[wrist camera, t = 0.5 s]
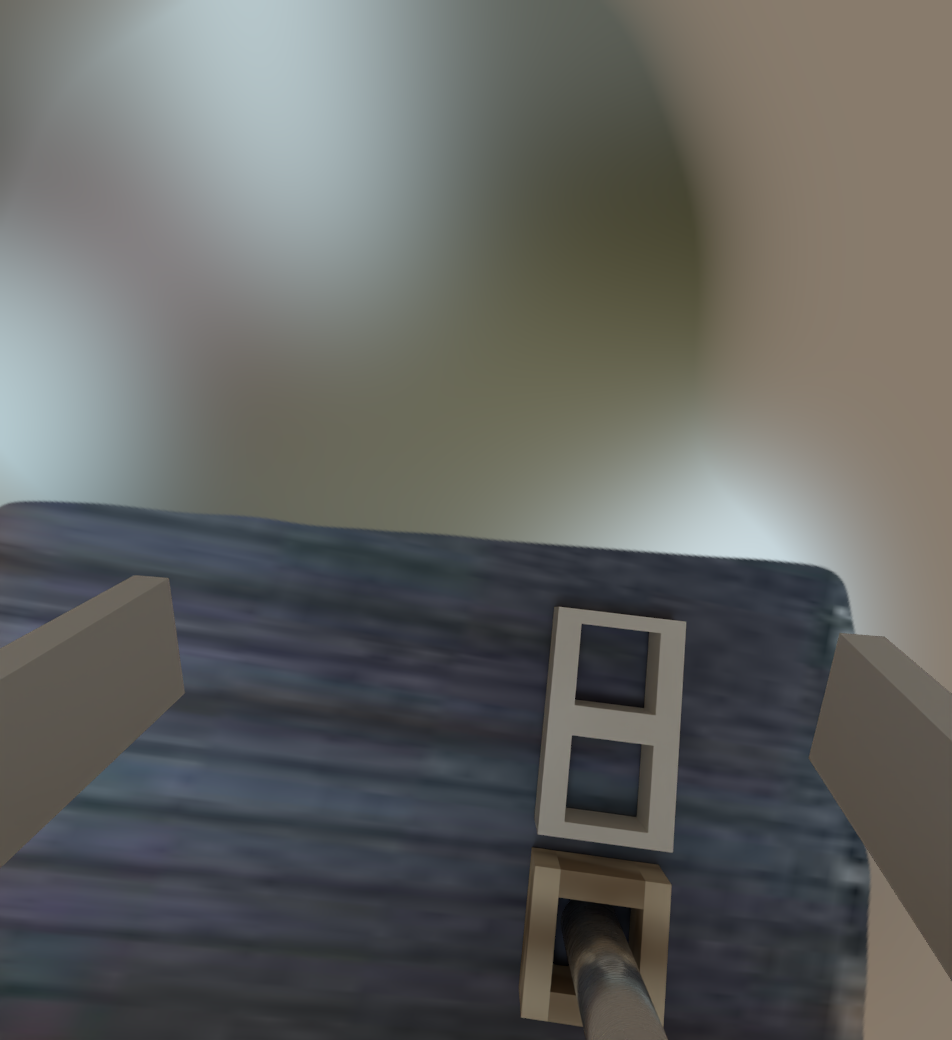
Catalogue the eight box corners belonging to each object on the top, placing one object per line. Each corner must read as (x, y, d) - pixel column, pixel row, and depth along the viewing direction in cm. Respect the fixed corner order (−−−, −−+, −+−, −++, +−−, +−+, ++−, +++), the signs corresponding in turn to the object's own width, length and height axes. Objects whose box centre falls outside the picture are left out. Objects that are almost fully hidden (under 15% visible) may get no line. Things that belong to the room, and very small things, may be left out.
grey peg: (627, 941, 39) (694, 1102, 26) (575, 966, 39) (616, 1139, 26) (602, 884, 40) (656, 1013, 27) (551, 907, 40) (580, 1049, 27)
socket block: (649, 1006, 38) (662, 1038, 36) (518, 986, 39) (520, 1017, 36) (658, 864, 40) (671, 884, 37) (531, 847, 40) (535, 866, 37)
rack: (659, 834, 40) (672, 852, 37) (534, 817, 41) (537, 834, 38) (672, 621, 43) (686, 621, 40) (554, 607, 43) (558, 606, 40)
